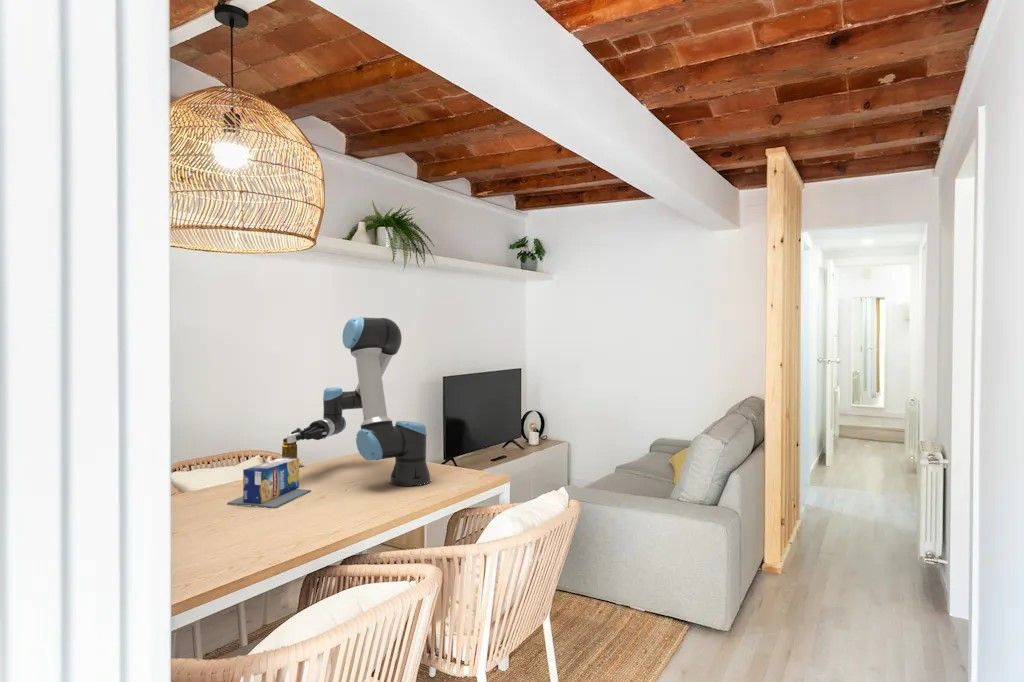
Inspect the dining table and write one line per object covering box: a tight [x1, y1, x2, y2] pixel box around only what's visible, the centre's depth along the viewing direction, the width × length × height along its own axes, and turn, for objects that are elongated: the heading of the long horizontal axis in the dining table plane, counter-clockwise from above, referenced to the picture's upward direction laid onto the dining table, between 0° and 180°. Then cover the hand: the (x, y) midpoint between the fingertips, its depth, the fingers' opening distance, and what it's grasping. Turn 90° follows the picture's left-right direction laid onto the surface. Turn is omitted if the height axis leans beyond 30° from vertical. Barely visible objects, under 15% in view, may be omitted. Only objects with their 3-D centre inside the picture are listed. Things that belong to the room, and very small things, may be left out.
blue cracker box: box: [242, 456, 300, 504], centre depth 224 cm, size 7×11×22 cm
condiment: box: [281, 437, 304, 468], centre depth 272 cm, size 7×8×12 cm
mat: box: [226, 488, 312, 509], centre depth 223 cm, size 18×22×1 cm
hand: (289, 439), depth 234 cm, fingers closed
